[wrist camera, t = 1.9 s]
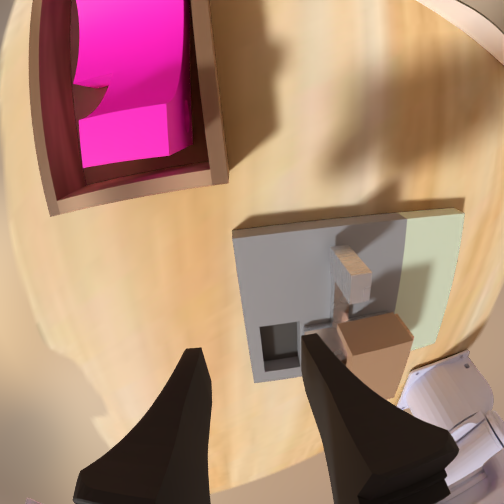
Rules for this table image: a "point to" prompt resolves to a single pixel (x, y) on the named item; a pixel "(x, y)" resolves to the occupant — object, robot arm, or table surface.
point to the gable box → (475, 21)
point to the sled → (345, 296)
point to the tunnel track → (358, 331)
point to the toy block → (135, 78)
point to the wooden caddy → (64, 127)
